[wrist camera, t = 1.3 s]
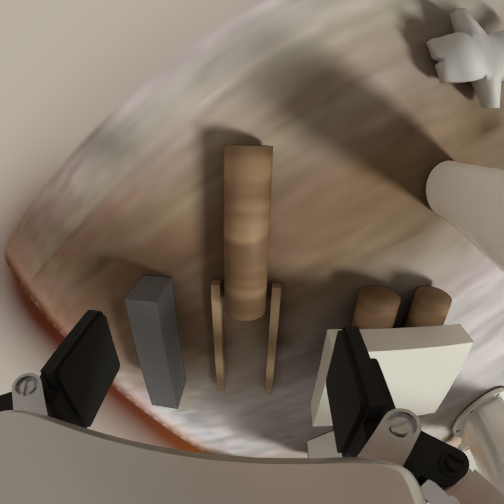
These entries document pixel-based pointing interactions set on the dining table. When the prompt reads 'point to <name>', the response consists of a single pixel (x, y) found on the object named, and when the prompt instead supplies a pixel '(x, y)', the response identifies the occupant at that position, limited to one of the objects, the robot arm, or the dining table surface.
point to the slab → (403, 366)
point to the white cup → (471, 204)
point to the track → (365, 317)
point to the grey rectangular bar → (157, 339)
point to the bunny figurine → (470, 57)
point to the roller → (246, 229)
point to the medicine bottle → (323, 446)
